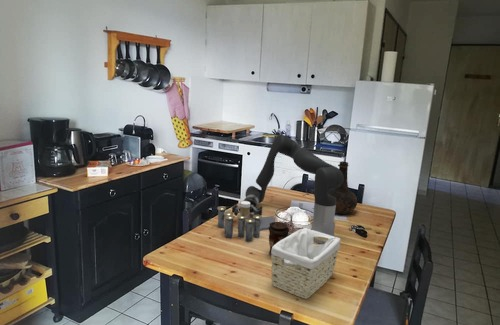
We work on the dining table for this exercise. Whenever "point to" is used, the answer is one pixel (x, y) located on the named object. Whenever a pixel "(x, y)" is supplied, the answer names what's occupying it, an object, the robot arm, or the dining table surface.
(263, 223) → the rubber mat
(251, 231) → the posts
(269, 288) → the dining table surface
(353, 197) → the glass bottle
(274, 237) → the coffee cup
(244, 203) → the sprinkles bottle
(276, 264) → the storage basket
